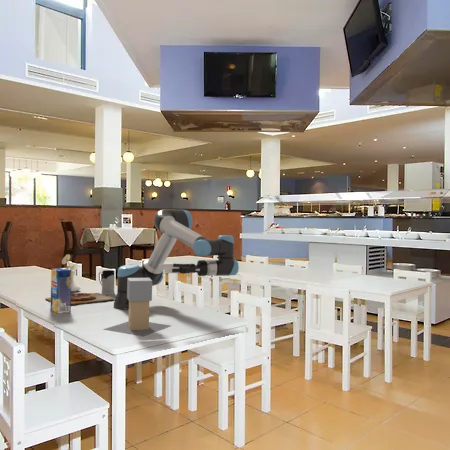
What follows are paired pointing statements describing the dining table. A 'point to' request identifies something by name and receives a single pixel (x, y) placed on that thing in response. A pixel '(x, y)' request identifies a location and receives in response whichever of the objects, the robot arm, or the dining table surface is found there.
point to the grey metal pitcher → (107, 282)
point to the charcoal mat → (125, 329)
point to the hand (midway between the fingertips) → (161, 268)
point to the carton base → (138, 315)
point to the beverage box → (61, 290)
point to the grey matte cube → (139, 289)
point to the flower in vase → (73, 285)
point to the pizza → (87, 298)
